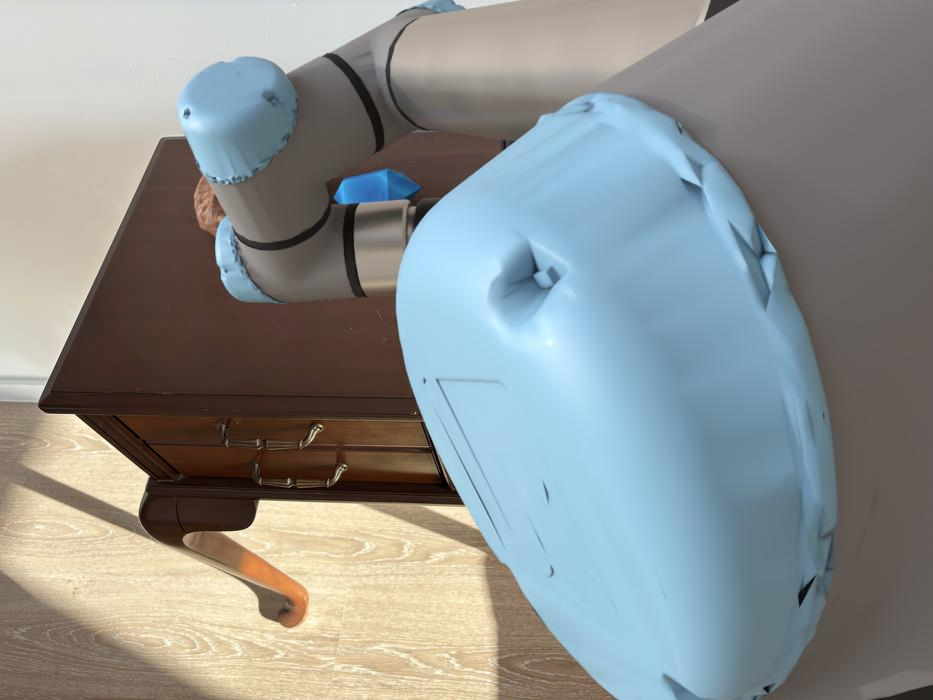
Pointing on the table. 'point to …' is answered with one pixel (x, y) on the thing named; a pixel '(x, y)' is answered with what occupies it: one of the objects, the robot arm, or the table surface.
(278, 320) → the table surface
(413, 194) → the crystal
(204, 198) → the decorative rock
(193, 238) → the table surface
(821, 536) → the robot arm
